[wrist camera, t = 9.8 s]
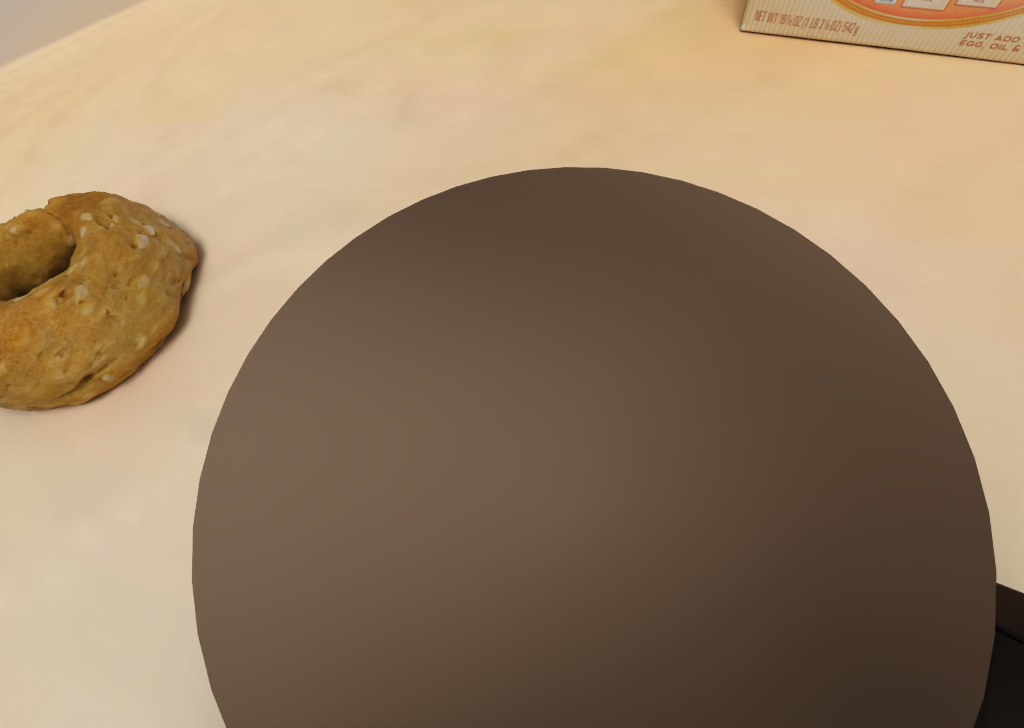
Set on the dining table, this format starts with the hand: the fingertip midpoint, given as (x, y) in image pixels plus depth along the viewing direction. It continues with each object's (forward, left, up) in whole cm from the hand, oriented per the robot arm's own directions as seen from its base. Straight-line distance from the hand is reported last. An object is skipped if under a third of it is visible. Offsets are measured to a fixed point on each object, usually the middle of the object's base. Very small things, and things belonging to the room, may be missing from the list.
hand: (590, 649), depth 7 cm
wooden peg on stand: (0, +2, -8) cm, 8 cm away
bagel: (-15, +19, -9) cm, 26 cm away
